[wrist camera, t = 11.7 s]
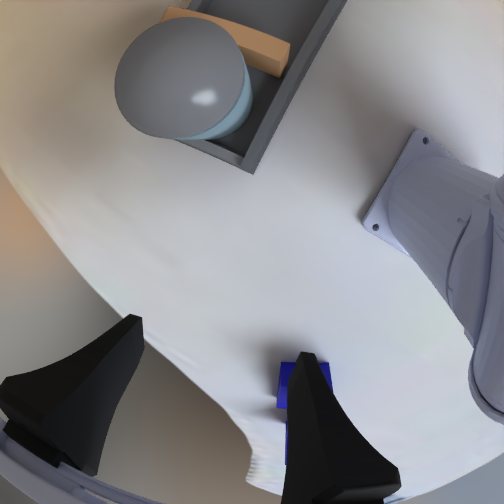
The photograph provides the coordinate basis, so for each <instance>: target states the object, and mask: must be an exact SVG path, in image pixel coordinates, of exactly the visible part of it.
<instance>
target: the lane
mask: <svg viewBox="0 0 504 504" xmlns="http://www.w3.org/2000/svg"><path fill="white" fill-rule="evenodd" d="M346 2H347V0H192V2H191V3H190V5H189V7H188V8H187V10H191V11H195V12H199V13H203V14H207V15H211V16H214V17H218V18H221V19H225V20H228V21H231V22H234V23H237V24H240V25H243V26H246V27H249V28H252V29H255V30H258V31H260V32H263V33H265V34H268V35H271V36H273V37H276V38H278V39H280V40H283V41H285V42H287V43H290V50H289V56H288V63H287V66H286V68H285V70H284V72H283V74H282V76H281V77H280V79H279V78H277V77H275V76H273V75H270V74H268V73H266V72H263V71H261V70H259V69H256V68H254V67H251V66H249V65H246V67H247V71H248V74H249V77H250V81H251V84H252V88H253V92H254V103H253V108H252V111H251V113H250V116H249V117H248V119H247V121H246V122H245V123H244V124H243V125H242V126H241V127H240V128H239V129H238V130H237V131H235V132H234V133H232V134H230V135H228V136H226V137H223V138H219V139H212V140H199V139H174V140H176V141H179V142H181V143H183V144H186V145H188V146H190V147H193V148H195V149H198V150H200V151H202V152H204V153H207V154H209V155H211V156H214V157H216V158H218V159H220V160H222V161H225V162H227V163H229V164H231V165H233V166H236V167H238V168H240V169H242V170H244V171H246V172H248V173H251V174H254V172H255V170H256V168H257V166H258V164H259V162H260V160H261V158H262V156H263V154H264V152H265V150H266V148H267V146H268V144H269V142H270V141H271V139H272V137H273V135H274V133H275V131H276V129H277V127H278V125H279V123H280V121H281V119H282V117H283V115H284V113H285V112H286V110H287V108H288V106H289V104H290V102H291V100H292V98H293V96H294V94H295V93H296V91H297V89H298V87H299V85H300V83H301V81H302V80H303V78H304V76H305V74H306V72H307V70H308V69H309V67H310V65H311V63H312V61H313V59H314V58H315V56H316V54H317V52H318V50H319V49H320V47H321V45H322V43H323V42H324V40H325V38H326V36H327V34H328V33H329V31H330V29H331V27H332V26H333V24H334V22H335V20H336V19H337V17H338V15H339V14H340V12H341V10H342V8H343V7H344V5H345V3H346Z"/></svg>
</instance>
